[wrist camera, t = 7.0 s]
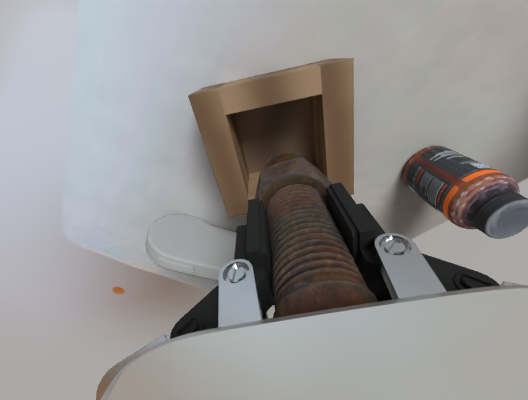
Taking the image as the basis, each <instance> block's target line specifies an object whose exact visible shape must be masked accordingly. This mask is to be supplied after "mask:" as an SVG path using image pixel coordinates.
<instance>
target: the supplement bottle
mask: <svg viewBox="0 0 528 400" xmlns="http://www.w3.org/2000/svg"><path fill="white" fill-rule="evenodd" d="M403 178H404V182H405V183H406V185H407V186H408V187H409V188H410V189H411V190H412V191H414V192H415V193H416V194H417V195H419V196H420V197H421V198H422V199H423V200H425V201H426V202H427V203H428V204H430V205H431V206H432V207H433V208H435V209H436V210H437V211H438V212H440V213H441V214H442V215H443V216H445V217H446V218H447V219H448V220H450V221H451V222H452V223H454V224H455V225H457V226H459V227H462V228H466V229H478V230H480V231H482V232H483V233H485V234H486V235H488V236H489V237H492V238H497V239H498V238H500V239H501V238H507V237H510V236H513V235H515V234H517V233H519V232H521V231H522V230H523V229H525V228H526V227H527V226H528V199H527V198H525V197H523V196H522V195H520V194H519V187H518V184H517V183H516V181H515V180H514V179H512V178H511V177H510V176H508V175H506V174H504V173H502V172H499V171H497V170H495V169H493V168H491V167H489V166H486V165H484V164H482V163H479V162H477V161H475V160H473V159H471V158H468V157H466V156H464V155H462V154H459V153H457V152H455V151H453V150H450V149H448V148H445V147H442V146H431V147H428V148H425V149H422V150H421V151H419V152H418V153H416V154H415V155H414V156H413V157H412V158H411V159H410V160H409V161H408V163H407V164H406V166H405V169H404V173H403Z"/></svg>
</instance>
